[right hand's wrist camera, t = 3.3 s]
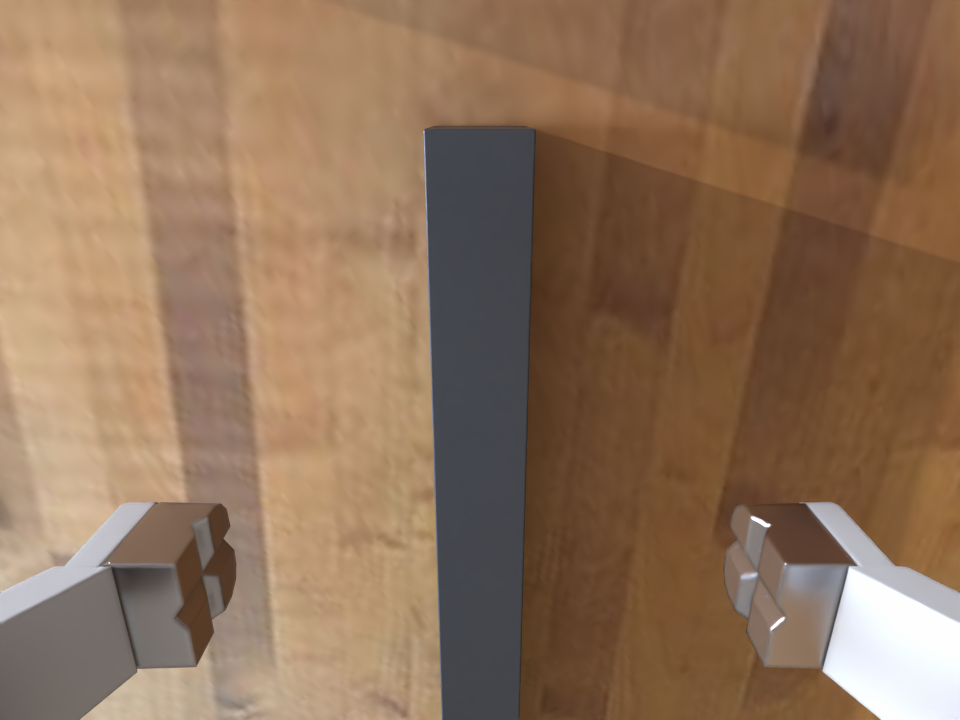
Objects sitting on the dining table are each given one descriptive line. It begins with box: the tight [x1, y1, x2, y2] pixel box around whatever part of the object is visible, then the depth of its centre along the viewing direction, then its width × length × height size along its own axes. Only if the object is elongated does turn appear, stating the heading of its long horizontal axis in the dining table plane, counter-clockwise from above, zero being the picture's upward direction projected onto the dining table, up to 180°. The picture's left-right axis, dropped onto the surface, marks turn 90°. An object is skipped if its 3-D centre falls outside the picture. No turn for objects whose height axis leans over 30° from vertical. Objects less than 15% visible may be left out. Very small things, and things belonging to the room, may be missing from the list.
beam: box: [423, 126, 536, 720], centre depth 44 cm, size 76×5×6 cm, turn 0°
